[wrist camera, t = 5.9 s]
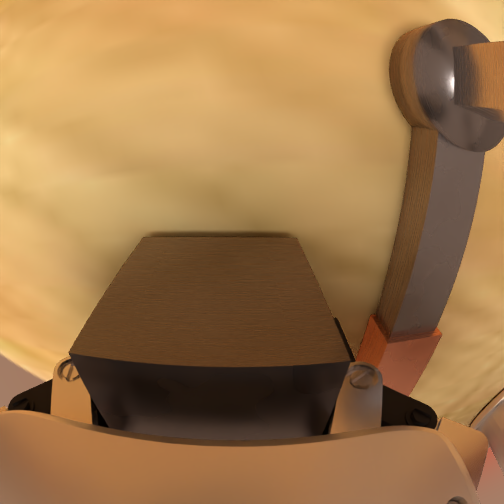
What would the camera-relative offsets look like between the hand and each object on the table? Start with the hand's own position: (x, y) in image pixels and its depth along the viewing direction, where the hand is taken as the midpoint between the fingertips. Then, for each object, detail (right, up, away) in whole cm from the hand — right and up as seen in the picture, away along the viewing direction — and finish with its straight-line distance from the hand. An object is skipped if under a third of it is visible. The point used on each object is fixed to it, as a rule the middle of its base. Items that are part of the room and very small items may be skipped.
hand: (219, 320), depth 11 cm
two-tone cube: (0, +1, +1) cm, 1 cm away
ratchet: (+10, +3, +2) cm, 10 cm away
